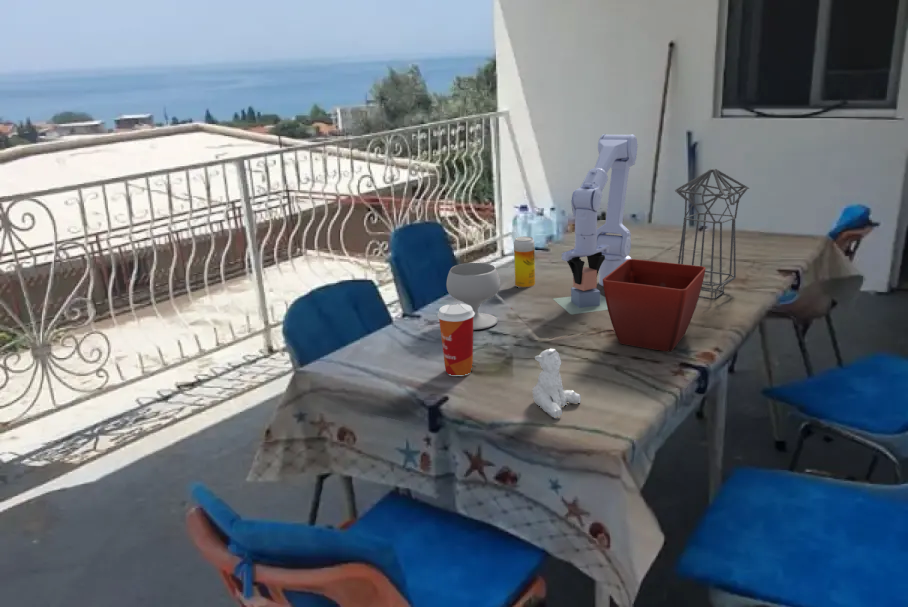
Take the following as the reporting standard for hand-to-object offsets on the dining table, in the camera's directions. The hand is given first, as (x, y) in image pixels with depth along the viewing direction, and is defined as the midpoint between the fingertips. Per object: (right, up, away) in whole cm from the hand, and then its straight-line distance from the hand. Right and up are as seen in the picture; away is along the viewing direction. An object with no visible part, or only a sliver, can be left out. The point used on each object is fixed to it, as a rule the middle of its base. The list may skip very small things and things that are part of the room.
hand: (585, 281), depth 194 cm
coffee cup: (-35, -21, -35) cm, 54 cm away
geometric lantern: (+36, -3, +8) cm, 37 cm away
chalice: (-30, -11, -6) cm, 33 cm away
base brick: (0, -6, +2) cm, 6 cm away
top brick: (0, -1, +1) cm, 2 cm away
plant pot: (+12, -15, -23) cm, 30 cm away
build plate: (0, -7, +2) cm, 7 cm away
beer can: (-14, -1, +22) cm, 26 cm away
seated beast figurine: (-16, -27, -52) cm, 61 cm away
